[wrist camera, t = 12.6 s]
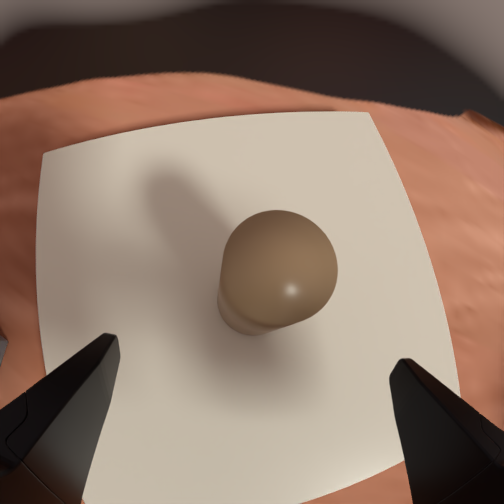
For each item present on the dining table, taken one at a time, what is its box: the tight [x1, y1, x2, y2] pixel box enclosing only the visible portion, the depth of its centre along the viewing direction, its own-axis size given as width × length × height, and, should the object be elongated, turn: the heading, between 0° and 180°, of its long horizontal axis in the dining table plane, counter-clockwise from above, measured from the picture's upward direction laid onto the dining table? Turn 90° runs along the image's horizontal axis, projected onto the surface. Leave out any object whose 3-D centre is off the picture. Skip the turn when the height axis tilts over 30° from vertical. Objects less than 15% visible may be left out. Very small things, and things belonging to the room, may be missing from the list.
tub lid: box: [36, 112, 461, 504], centre depth 12 cm, size 21×21×8 cm
